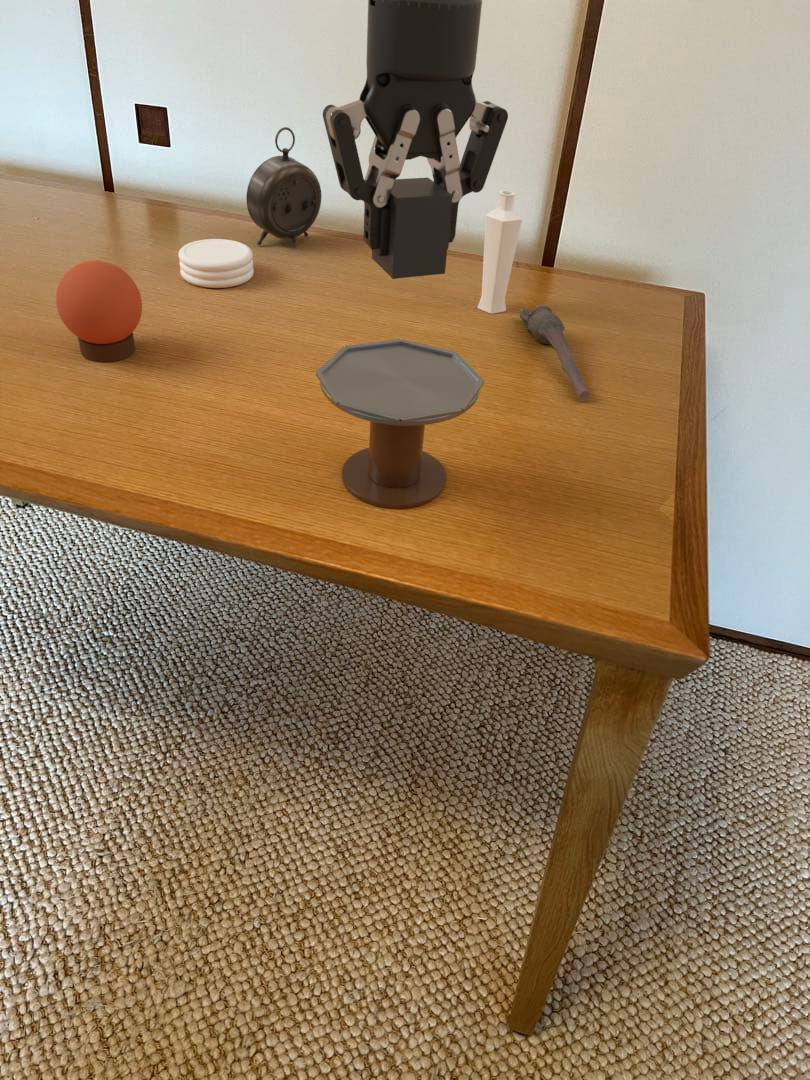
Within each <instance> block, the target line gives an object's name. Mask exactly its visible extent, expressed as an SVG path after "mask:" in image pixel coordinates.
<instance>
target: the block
mask: <svg viewBox="0 0 810 1080" xmlns="http://www.w3.org/2000/svg"><path fill="white" fill-rule="evenodd" d="M386 205H387V206H388V207H389V208H390V222H389V242H388V254H387V256H377V255H376V254H375V253H374V252H373V251H372V250H371V260H373V261H374V262H375V263H376V264H377V265H378V266H379V267H380V268H381V269H382V270H383V271H384V272H385V273H386V274H387V275H388V276H389V277H390V278H391V279H392V280H395V279H405V278H417V277H425V276H426V277H427V276H436V275H445V274H446V266H447V255H448V250H447V247H448V237H449V226H450V216H451V205H452V194H450V193H449V192H448V191H446V190H445V189H443V188H442V187H441V186H439V185H438V184H436V183H435V182H434V180H432V179H431V178H429V177H414V178H413V177H412V178H410V177H409V178H396V179H395V182H394V185H393V188H392V191H391V194H390V197H389V200H388V203H387V204H386ZM448 248H449V247H448Z"/></svg>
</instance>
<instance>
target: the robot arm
mask: <svg viewBox="0 0 810 1080" xmlns="http://www.w3.org/2000/svg"><path fill="white" fill-rule="evenodd" d="M482 5H483V0H367V31H366V80H365V83H364V86H363V88H362V90H361V92H360V96H359V99H358V100H355V101H352V102H350V103H346V104H344V105H341V106H336V105H334V104H328V105H326V106H325V107H324V109H323V110H322V119H323V122H324V127H325V131H326V135H327V140H328V143H329V146H330V151H331V155H332V159H333V162H334V167H335V170H336V174H337V175H336V176H337V179H338V183H339V187H340V188H341V190H343V191H344V192H346V193H347V194H348V195H349V196H350V197H351V198H352V199H353V200H354V201H362V202H363V204H364V206H363V208H364V209H363V210H364V213H363V239H364V243H365V244H366V245H367V246H368V247H369V248H370V250H371V252H372V251H373V252H374V253H375V254H376V255H377V256H387V254H388V242H389V222H390V208H389V207H388V206H387V205H386V204H387V203H388V200H389V197H390V194H391V191H392V188H393V185H394V182H395V179H398V178H399V177H400V176H401V173H402V171H403V168H404V165H405V162H406V161H407V160H408V161H409V160H413V159H417V158H419V157H423V158H426V161H427V163H428V165H429V166H430V170H431V175H432V179H433V181H434V182H435V183H436V184H438V185H439V186H441V187H442V188H443V189H445V190H446V191H448V192H449V193H450V194H452V205H451V216H450V226H449V237H448V247H447V251H448V249H449V247H450V246H449V245H450V243H453V242H454V240H455V237H456V234H457V233H456V232H457V222H458V214H459V213H458V211H459V204H460V201H461V199H462V198H463V197H464V196H466V195H468V194H471V193H476V194H477V193H479V192H481V191H482V190H483V189H484V187H485V185H486V181H487V179H488V175H489V173H490V170H491V167H492V164H493V163H494V158H495V156H496V153H497V151H498V148H499V144H500V141H501V139H502V136H503V133H504V131H505V128H506V126H507V122H508V119H509V113H508V110H506V109H505V108H503V107H501V106H499V105H497V104H495V103H493V102H491V101H489V100H485V101H480V100H477V99H476V94H475V91H474V88H473V83H472V82H473V76H474V73H475V71H476V64H477V54H478V47H479V46H478V44H479V36H480V26H481V16H482ZM364 119H365V120H366V123H368V125H369V127H370V129H371V130H372V132H373V133H374V135H375V137H374V139H373V142H372V145H371V149H370V152H369V155H368V168H367V171H366V174H365V177H364V174H363V169H362V166H361V161H360V156H359V151H358V147H357V143H356V140H357V139H358V138H359V137H360V135H361V125H362V123H363V121H364ZM468 121H469V124H468V125H469V126H468V127H469V129H470V134H469V137H468V140H467V143H466V146H465V149H464V152H463V155H462V158H461V160H460V156H459V150H458V144H457V137H458V136H459V134H460V132H461V131H462V130H463V128H464V126H465V125H466V124H467V123H468Z"/></svg>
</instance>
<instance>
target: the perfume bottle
mask: <svg viewBox="0 0 810 1080" xmlns="http://www.w3.org/2000/svg"><path fill="white" fill-rule="evenodd" d="M516 195H517V194H516V192H515V191H513V190H508V189H507V190H506V189H501V190H499V191H498V201H497V207H496V208H494V209H492V210H491V211H489V212H488V213H486V214H485V223H484V225H485V226H484V240H483V243H484V244H483V259H482V262H483V263H482V279H481V280H482V281H481V297H480V300H479V302H478V304H477V307H476V308H477V309H479V310H481V311H483V312H485V313H488V314H492V315H493V314H497V313H504V312H507V308H506V306H507V305H506V295H507V290H508V286H509V281H510V277H511V273H512V269H513V263H514V259H515V254H516V249H517V245H518V240H519V237H520V231H521V226H522V221H523V218H522V216H521V215H520V214H519V213H518V212H517V211H516V210H515V209H514V203H515V197H516Z"/></svg>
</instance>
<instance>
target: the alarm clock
mask: <svg viewBox="0 0 810 1080" xmlns="http://www.w3.org/2000/svg"><path fill="white" fill-rule="evenodd" d="M285 130H286V131H288V132H290V134H291V136H292V143H291V146H290V147H289V148H287V147H284V148H282V149H281V148H280V147H279V144H278V138H279V136H280V134H281V133H282V132H283V131H285ZM295 143H296V136H295V133H294V131H293V129H291V128H290V127H287V126H284V127H281V128H280V129H278V131H277V132H276V134H275V138H274V144H275V147H276V149H277V150H278V151H279V152H280V153H282V155H275V156H272V157H270V158H268V159H267V160H264V161H263V162H262V163H260V165H258V167H257V168H256V169H255V170H254V172H253V173H252V175H251V177H250V179H249V182H248V185H247V191H246V196H245V197H246V199H245V200H246V209H247V211H248V215H249V217H250V218H251V220H252V222H254V224H255V225H256V226H257V227H259V228H260V229H262V233H261V235H260V238H259V240H257V245H258V246H261V245H262V242H263V241H264V240H265V239H266V237H267V236H268V234H270V235H271V236H273V237H274V238H277V239H281V240H290V243H291V246H292V247H293V248H296V247H297V243H296V238H297V237H299V236H301V235H303V236H304V237H306V238H307V237H309V233H308V230H309V229H310V228H311V227H312V225H313V224H314V222H315V221H316V219H317V218H318V216H319V212H320V209H321V205H322V188H321V184H320V181H319V179H318V177H317V175H316V173H315V172H314V171H313V170H312V169H311V168H310V167H308V166H307V165H305V164H304V163H301V162H300V161H298V160H296V159H294V158H293V157H291V156H289V154H290V151H292V150H293V147H294V146H295Z"/></svg>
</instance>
